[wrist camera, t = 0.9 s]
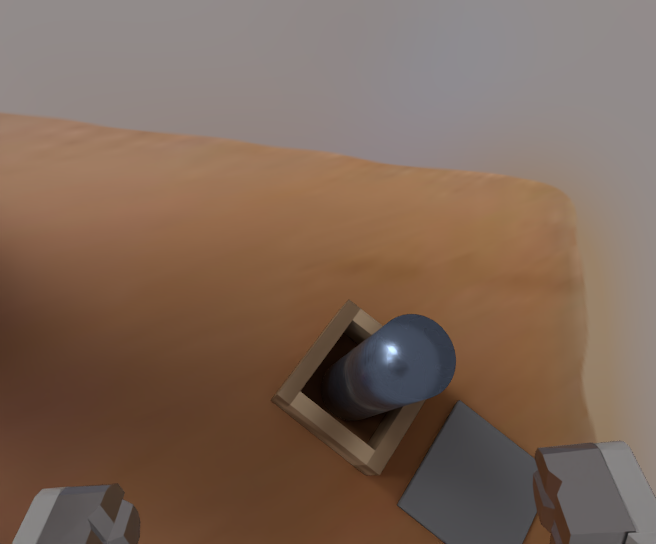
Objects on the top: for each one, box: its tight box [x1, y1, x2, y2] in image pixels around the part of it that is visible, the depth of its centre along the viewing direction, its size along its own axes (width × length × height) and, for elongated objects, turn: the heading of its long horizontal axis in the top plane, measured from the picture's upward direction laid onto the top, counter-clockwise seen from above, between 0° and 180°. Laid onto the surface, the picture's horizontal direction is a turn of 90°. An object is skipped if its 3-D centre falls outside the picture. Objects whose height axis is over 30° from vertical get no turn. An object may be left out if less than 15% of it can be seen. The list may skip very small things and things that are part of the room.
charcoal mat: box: [397, 400, 538, 544], centre depth 44 cm, size 10×10×1 cm
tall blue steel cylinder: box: [321, 314, 456, 421], centre depth 38 cm, size 5×5×14 cm
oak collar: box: [271, 300, 426, 475], centre depth 43 cm, size 9×9×4 cm
